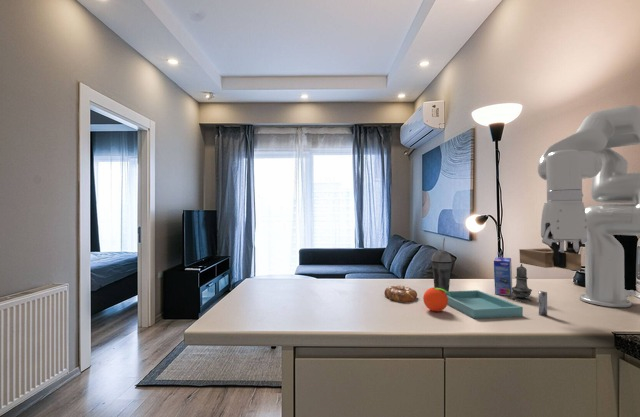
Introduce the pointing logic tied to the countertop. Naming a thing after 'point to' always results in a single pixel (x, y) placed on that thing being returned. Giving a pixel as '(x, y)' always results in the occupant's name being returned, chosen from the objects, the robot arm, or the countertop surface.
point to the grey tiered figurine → (521, 285)
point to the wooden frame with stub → (548, 258)
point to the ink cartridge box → (503, 276)
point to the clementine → (435, 299)
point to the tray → (482, 305)
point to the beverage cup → (441, 268)
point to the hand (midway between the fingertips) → (565, 266)
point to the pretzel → (400, 293)
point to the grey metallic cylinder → (542, 303)
